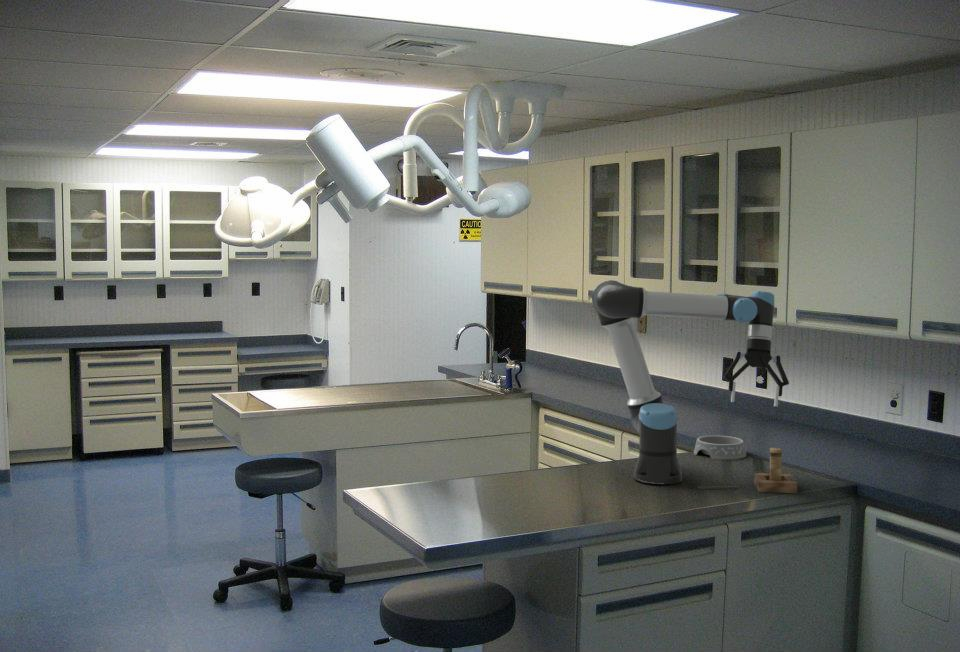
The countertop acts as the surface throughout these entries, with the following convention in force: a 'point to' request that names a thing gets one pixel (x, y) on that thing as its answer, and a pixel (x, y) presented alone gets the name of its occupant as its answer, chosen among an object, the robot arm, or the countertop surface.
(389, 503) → the countertop surface
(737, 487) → the lace
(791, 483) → the square wooden tray
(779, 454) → the wooden peg
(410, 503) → the countertop surface
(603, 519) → the countertop surface
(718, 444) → the dog bowl
